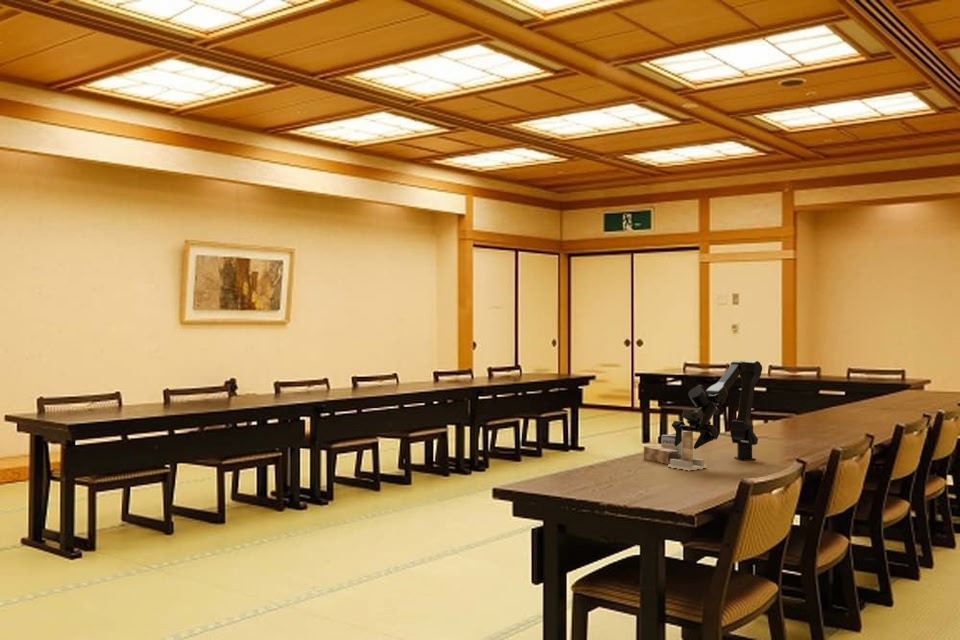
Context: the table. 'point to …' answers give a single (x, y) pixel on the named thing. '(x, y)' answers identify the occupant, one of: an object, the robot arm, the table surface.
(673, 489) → the table surface
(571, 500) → the table surface
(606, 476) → the table surface
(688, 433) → the dowel
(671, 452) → the beam
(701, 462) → the cradle
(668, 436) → the medicine box
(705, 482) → the table surface
